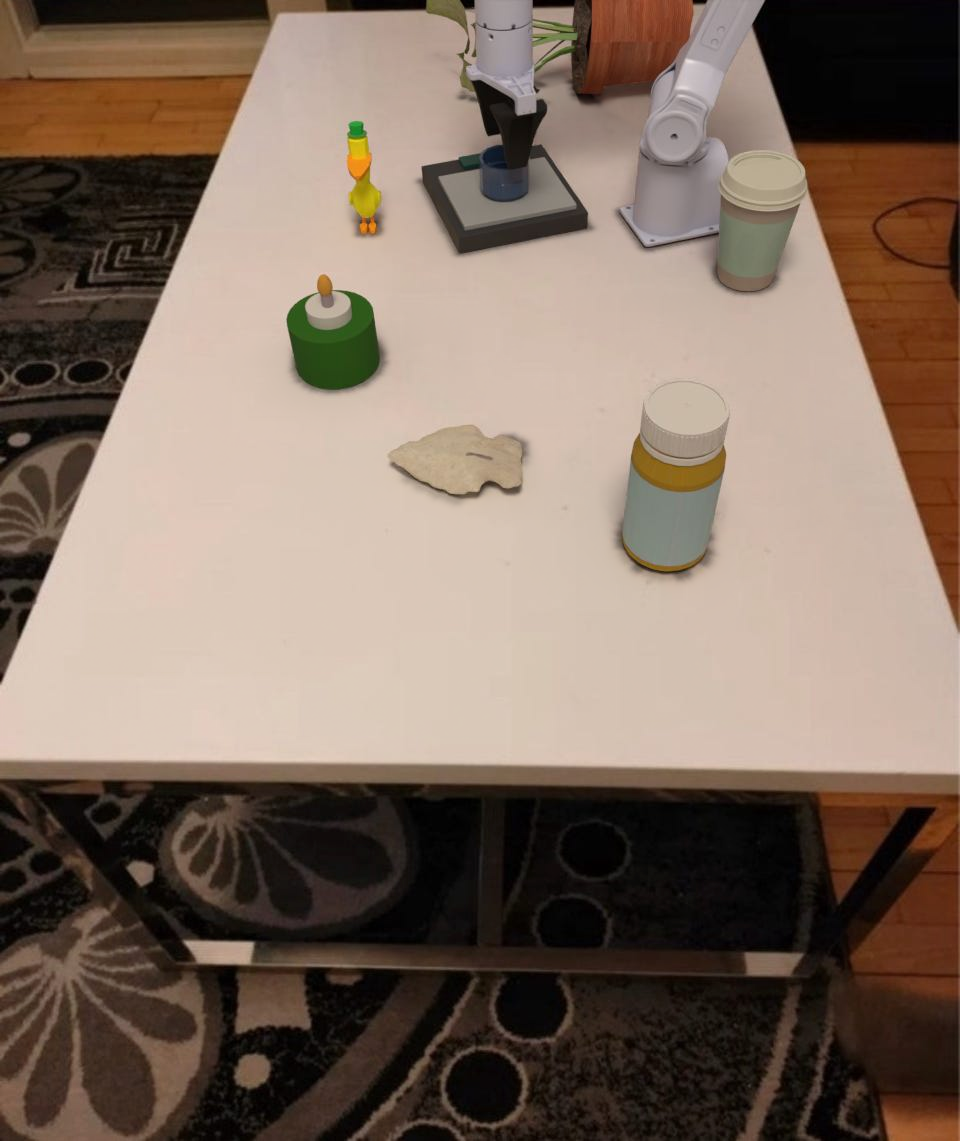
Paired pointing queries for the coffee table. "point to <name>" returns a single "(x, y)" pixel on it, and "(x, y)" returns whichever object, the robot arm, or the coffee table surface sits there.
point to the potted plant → (603, 39)
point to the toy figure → (362, 176)
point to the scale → (502, 204)
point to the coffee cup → (757, 216)
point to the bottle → (675, 474)
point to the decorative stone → (461, 459)
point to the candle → (333, 337)
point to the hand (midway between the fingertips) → (506, 149)
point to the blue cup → (501, 176)
